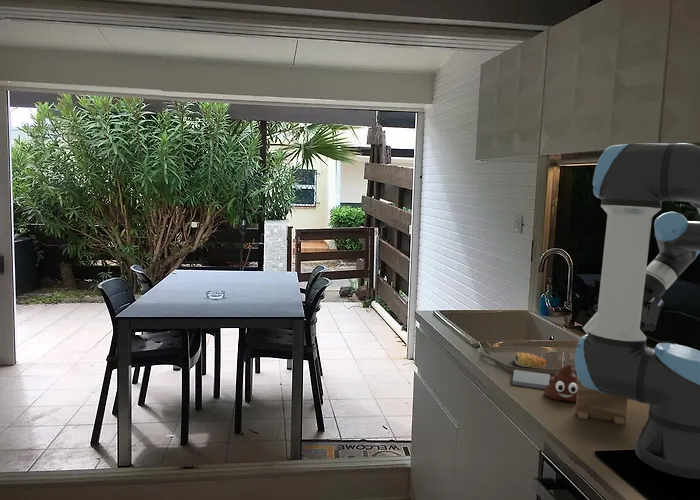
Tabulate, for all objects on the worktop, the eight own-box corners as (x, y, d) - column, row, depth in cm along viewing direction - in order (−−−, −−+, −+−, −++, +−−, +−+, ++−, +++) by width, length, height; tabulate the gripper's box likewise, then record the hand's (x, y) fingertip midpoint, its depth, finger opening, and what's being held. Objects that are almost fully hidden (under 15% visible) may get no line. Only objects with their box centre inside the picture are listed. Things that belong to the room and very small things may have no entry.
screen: (626, 425, 134) (631, 367, 132) (576, 417, 137) (581, 361, 135) (623, 417, 138) (628, 361, 137) (575, 410, 142) (579, 355, 140)
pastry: (543, 362, 180) (544, 351, 180) (548, 370, 173) (549, 357, 173) (512, 361, 181) (513, 349, 180) (517, 368, 174) (518, 356, 174)
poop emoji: (582, 394, 153) (585, 361, 152) (586, 406, 145) (589, 371, 144) (543, 389, 156) (545, 356, 154) (545, 401, 147) (547, 366, 146)
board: (550, 390, 155) (550, 385, 155) (512, 384, 158) (512, 380, 158) (549, 378, 165) (549, 374, 165) (513, 373, 168) (514, 369, 168)
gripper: (700, 300, 143) (646, 362, 141) (626, 282, 167) (579, 334, 164) (686, 280, 141) (631, 342, 138) (613, 265, 165) (565, 317, 162)
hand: (603, 338), depth 151 cm, fingers open, 13 cm apart
